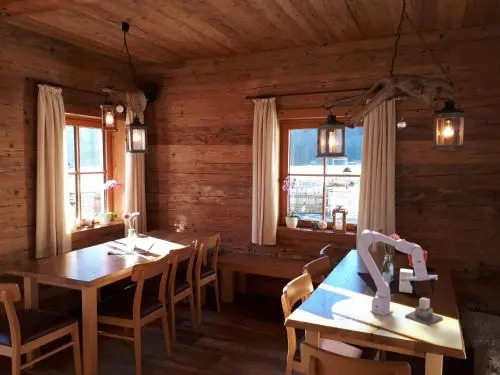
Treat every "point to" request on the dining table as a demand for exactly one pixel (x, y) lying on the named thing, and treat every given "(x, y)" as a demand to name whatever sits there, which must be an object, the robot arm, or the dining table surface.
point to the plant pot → (412, 259)
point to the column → (424, 303)
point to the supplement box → (405, 280)
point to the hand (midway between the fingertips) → (425, 294)
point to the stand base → (424, 316)
